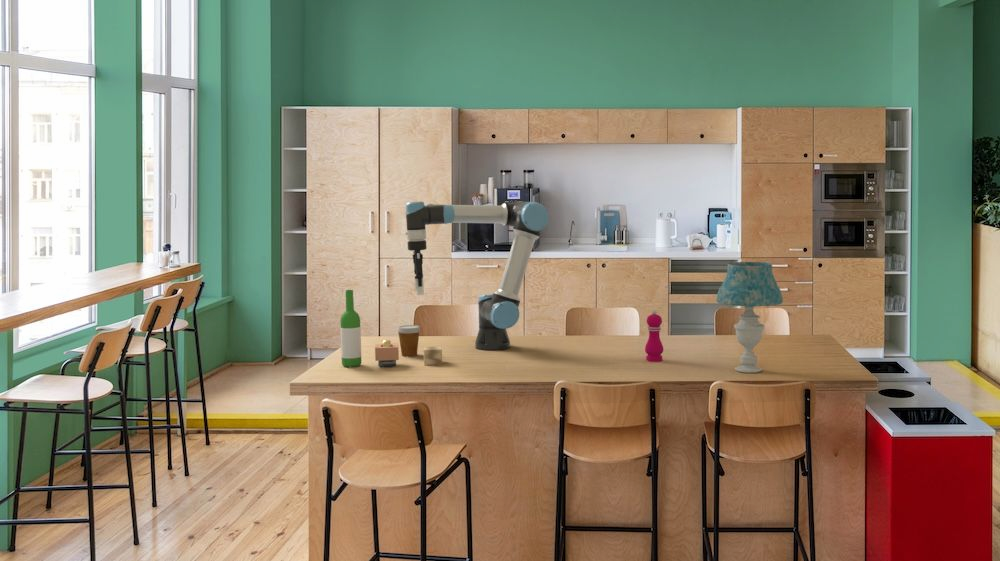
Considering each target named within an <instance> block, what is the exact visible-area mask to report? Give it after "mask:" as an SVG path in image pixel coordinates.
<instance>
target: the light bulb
mask: <svg viewBox="0 0 1000 561" xmlns="http://www.w3.org/2000/svg"><path fill="white" fill-rule="evenodd" d="M382 344H383V347H391V344H392V343H391V340H390V339H384V340H382ZM377 362H378V363H377V364H378V367H379V368H383V369H384V368H395V367H397V360H384V361H377Z"/></svg>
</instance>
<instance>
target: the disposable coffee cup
mask: <svg viewBox="0 0 1000 561" xmlns="http://www.w3.org/2000/svg"><path fill="white" fill-rule="evenodd" d="M396 331H397V333H398V339H399V346H400V351H401V356H402V357H405V356H411V357H416V356H417V355H418V348H419V347H418V346H419V337H420V332H421V328H420V325H415V324H414V325H413V324H408V325H407V324H405V325H399V326H398V327H397V329H396Z"/></svg>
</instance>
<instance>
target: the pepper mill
mask: <svg viewBox="0 0 1000 561" xmlns="http://www.w3.org/2000/svg"><path fill="white" fill-rule="evenodd" d="M646 323H647V325H648V326H647V331H648V333H649V334H648V340H647V342H646V344H645V346H644V351H645V353H646V354H647V355H646V356H645V360H646V362H648V363H649V362H650V363H659V362H663V356H662V354H663V353H664V345H663V343H662V341H661V338H660V331H661V328H662V327H661V325H662V323H663V319H662V316H661V315H659V314H657V310H652V312H651V314H649V315H647V318H646Z"/></svg>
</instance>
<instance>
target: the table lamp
mask: <svg viewBox="0 0 1000 561" xmlns="http://www.w3.org/2000/svg"><path fill="white" fill-rule="evenodd" d="M726 270H727V271H726V275H725V277H724V278H723V281H722V284H721V285H720V287H719V288H718V292H717V296H716V300H715V301H716V302H717V303H718V304H720V305H724V306H725V305H726V306H735V307H744V312H743V313H742V314H740V315H738V318H739V319H740V320H739V321H738V322H737V323H735V324H734V325H733V329H735V336H736V337H735V338H736V340H737V342H738V343H739V344H740V345H741V346H742V347H743V348H744V351H743V352H742V354H741V355H740V356H739V362H740V364H742V365H738V366H736V367H735V368H734V369H735V371H737V372H739V373H744V374H745V373H746V374H757V373H760V372H762V371H763V368H762V367H760V366H759V365H758V366H757V365H756V364H758V355H755V351H753V350H754V348H755V347H756V346H757V345H758V344H759V343H760V342H761V341H762V337H763V331H764V330H765V325H764V324H763V323H760V321H759V319H760V315H758V314H756V312H755V311H754V309H755V307H769V306H770V307H771V306H778V305H781V304H783V302H784V300H783V295H782V291H781V289H780V287H779V286H778V283H777V281H776V279H775V277H774V274H773V264H772V263H770V262H761V261H737V262H736V261H735V262H729V263H727V269H726Z"/></svg>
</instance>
